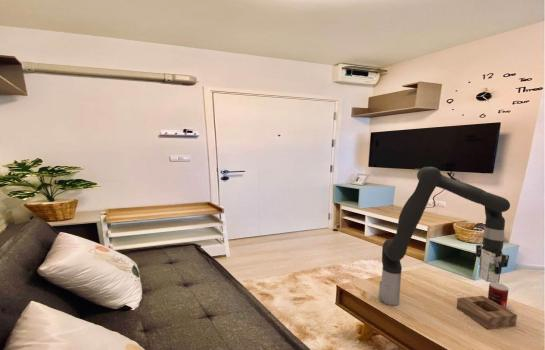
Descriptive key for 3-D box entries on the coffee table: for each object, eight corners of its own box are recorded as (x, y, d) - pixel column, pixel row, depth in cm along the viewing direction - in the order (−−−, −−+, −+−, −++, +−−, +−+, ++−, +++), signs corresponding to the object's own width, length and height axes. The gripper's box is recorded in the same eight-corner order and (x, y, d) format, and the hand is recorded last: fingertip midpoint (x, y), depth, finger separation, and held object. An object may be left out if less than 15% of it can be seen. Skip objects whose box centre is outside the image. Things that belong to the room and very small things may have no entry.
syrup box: (490, 277, 127) (493, 248, 126) (499, 283, 122) (503, 253, 120) (478, 276, 128) (481, 248, 127) (486, 282, 122) (490, 253, 121)
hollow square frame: (487, 329, 117) (488, 318, 117) (456, 308, 133) (457, 298, 132) (515, 326, 120) (516, 315, 120) (482, 305, 136) (483, 295, 135)
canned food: (502, 303, 138) (505, 284, 137) (508, 311, 131) (511, 291, 130) (485, 299, 142) (487, 280, 140) (490, 307, 134) (492, 287, 133)
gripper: (472, 232, 129) (469, 264, 131) (502, 243, 115) (498, 278, 117) (484, 232, 130) (481, 263, 132) (516, 242, 116) (512, 277, 118)
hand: (489, 270), depth 124 cm, fingers closed on syrup box, 6 cm apart
